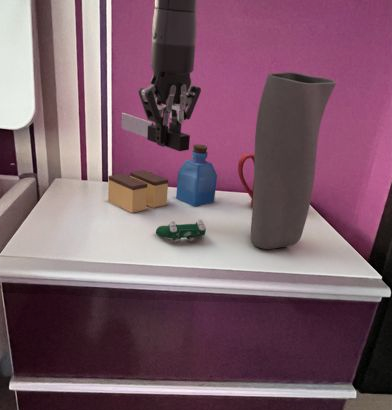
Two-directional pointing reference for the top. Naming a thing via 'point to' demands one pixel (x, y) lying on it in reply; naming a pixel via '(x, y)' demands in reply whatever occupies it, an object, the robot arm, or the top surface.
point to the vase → (286, 156)
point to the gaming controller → (182, 231)
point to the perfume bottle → (197, 179)
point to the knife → (149, 130)
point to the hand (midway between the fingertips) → (167, 144)
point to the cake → (137, 190)
